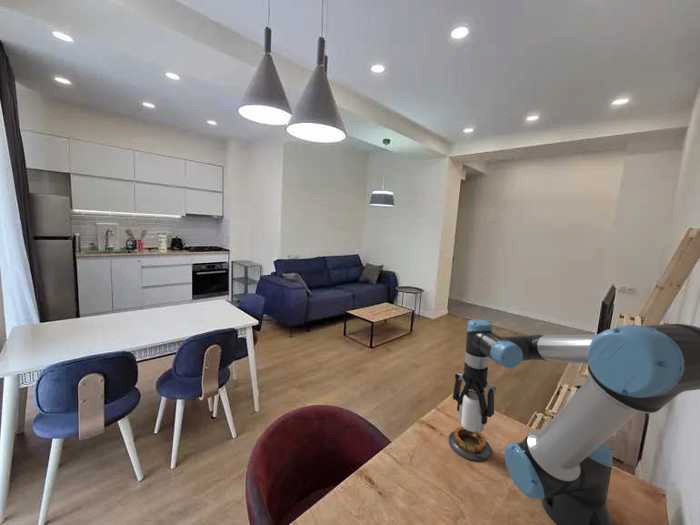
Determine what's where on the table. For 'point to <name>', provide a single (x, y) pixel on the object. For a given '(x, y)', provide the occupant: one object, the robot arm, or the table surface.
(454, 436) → the grey and gold ring
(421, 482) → the table surface
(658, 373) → the robot arm
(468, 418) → the can
